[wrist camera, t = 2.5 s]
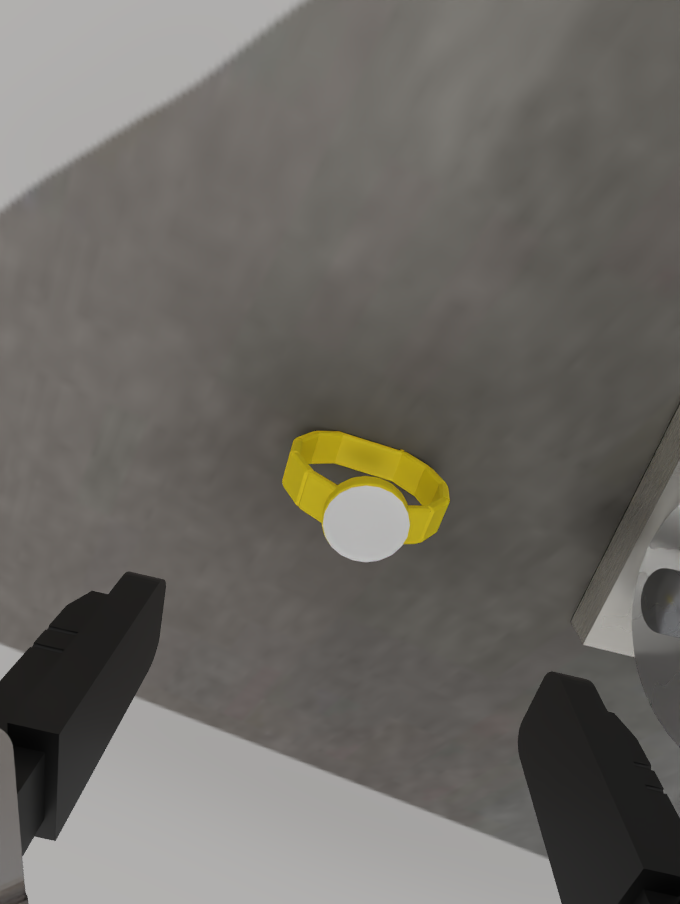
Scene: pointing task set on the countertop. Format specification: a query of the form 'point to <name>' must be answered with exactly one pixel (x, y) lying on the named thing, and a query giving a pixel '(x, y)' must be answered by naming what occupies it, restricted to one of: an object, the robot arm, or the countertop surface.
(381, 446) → the yellow watch
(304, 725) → the countertop surface
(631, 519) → the motor
